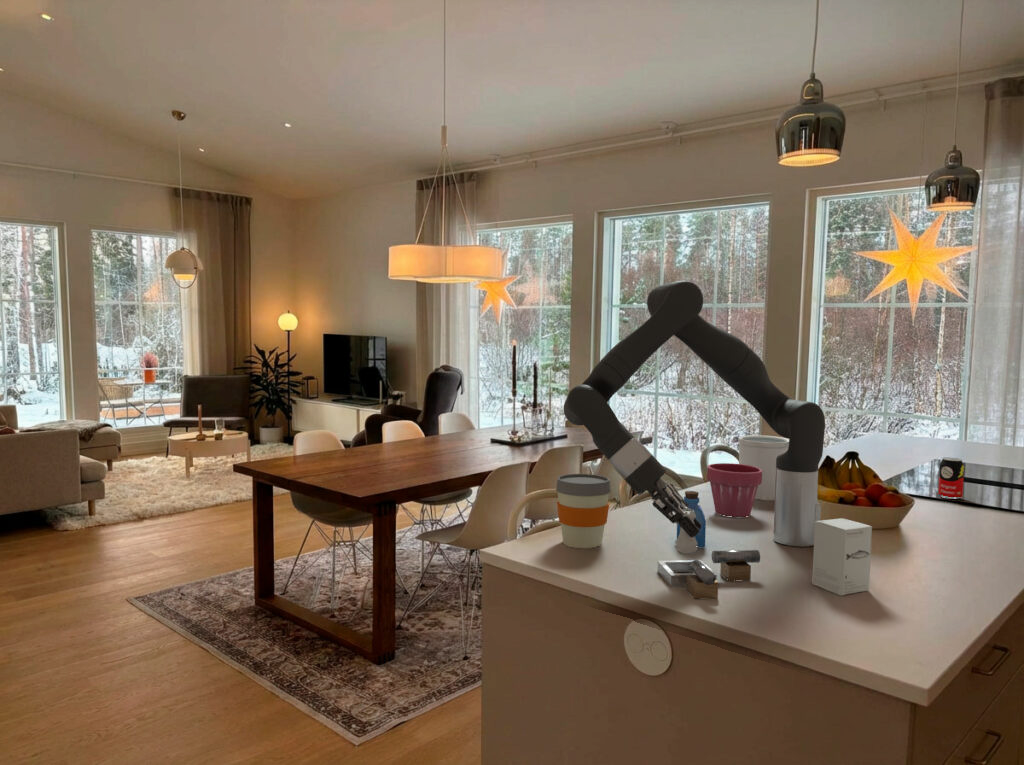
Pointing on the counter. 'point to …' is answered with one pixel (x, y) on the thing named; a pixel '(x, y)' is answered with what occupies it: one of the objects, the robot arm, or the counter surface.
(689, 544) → the rook chess piece
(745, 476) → the plant pot
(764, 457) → the utensil holder
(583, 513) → the reusable coffee cup
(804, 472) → the robot arm
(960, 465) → the beverage can
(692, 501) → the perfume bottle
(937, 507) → the counter surface
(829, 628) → the counter surface
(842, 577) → the supplement box
